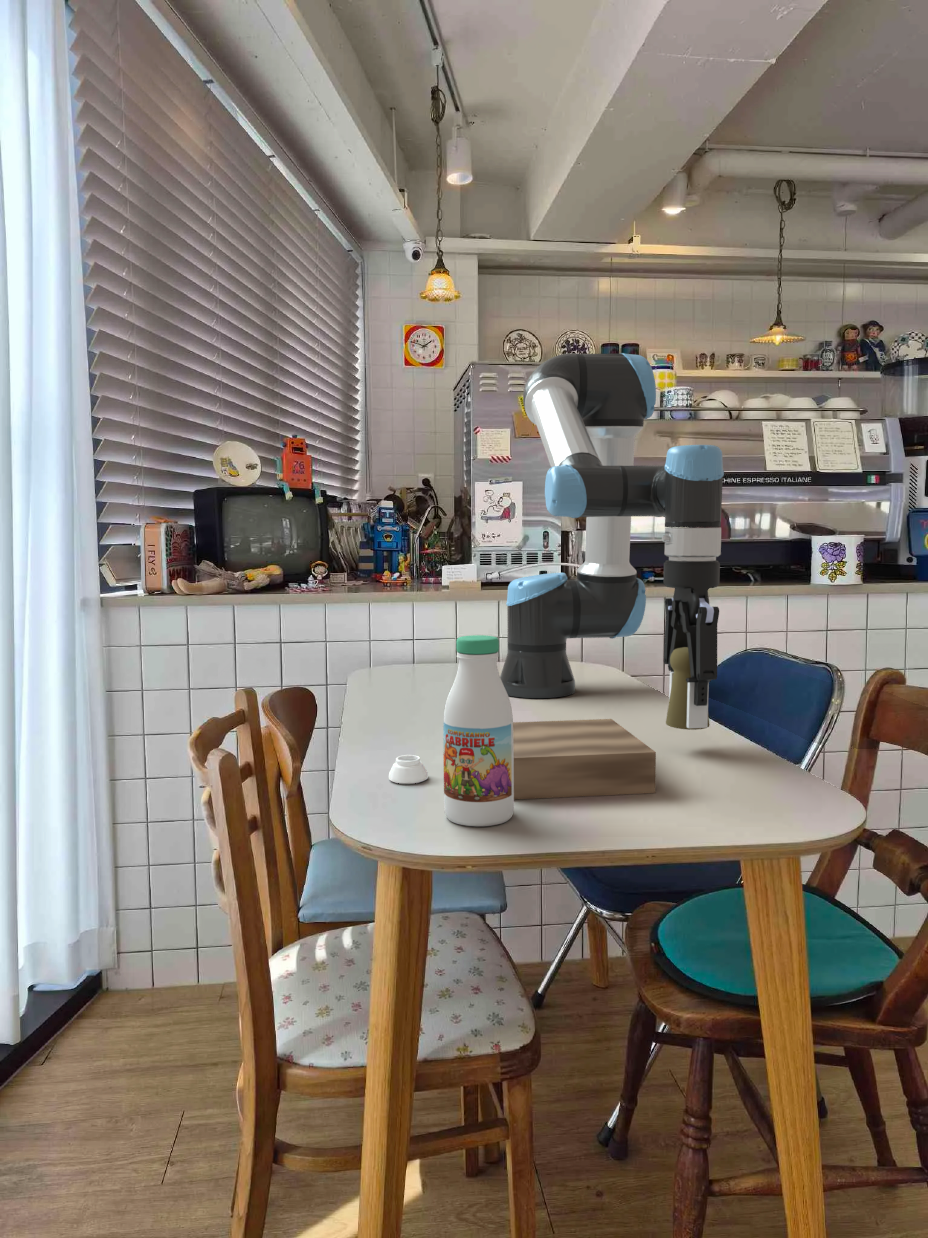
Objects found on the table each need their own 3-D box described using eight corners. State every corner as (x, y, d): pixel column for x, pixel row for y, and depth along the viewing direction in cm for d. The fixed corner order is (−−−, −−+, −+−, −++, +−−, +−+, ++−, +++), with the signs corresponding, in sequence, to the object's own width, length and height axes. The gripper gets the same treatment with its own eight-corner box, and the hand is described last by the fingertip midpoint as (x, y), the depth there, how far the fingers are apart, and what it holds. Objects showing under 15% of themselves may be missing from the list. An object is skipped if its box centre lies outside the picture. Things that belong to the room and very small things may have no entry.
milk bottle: (448, 804, 94) (446, 632, 92) (515, 805, 93) (514, 632, 91) (439, 827, 86) (437, 641, 84) (512, 829, 85) (511, 641, 83)
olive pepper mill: (711, 730, 111) (713, 651, 110) (666, 728, 113) (668, 650, 111) (707, 720, 117) (709, 645, 116) (664, 718, 118) (666, 644, 117)
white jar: (389, 775, 106) (388, 787, 101) (388, 753, 105) (388, 764, 100) (427, 774, 106) (428, 785, 101) (426, 752, 106) (428, 762, 101)
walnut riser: (485, 758, 113) (485, 723, 112) (611, 753, 115) (611, 718, 114) (507, 800, 95) (506, 758, 94) (655, 792, 97) (655, 752, 96)
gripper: (642, 556, 121) (639, 707, 124) (692, 562, 102) (688, 740, 105) (690, 555, 122) (687, 705, 125) (749, 561, 103) (743, 738, 106)
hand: (687, 721), depth 115 cm, fingers closed on olive pepper mill, 6 cm apart
